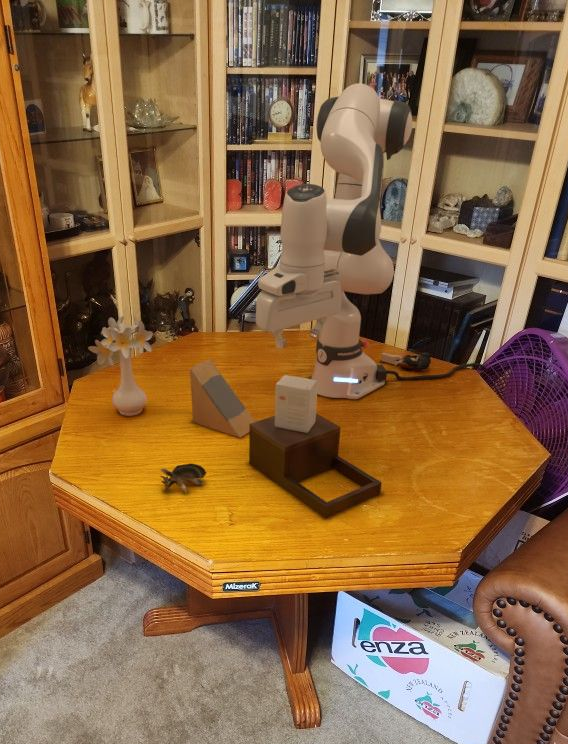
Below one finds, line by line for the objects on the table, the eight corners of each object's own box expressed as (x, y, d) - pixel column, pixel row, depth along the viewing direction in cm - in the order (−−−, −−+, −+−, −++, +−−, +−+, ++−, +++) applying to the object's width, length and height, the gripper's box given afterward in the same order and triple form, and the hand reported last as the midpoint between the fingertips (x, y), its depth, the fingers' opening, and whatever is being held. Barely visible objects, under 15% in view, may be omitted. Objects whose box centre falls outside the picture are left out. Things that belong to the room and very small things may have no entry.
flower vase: (92, 424, 172) (79, 330, 158) (123, 394, 186) (114, 306, 172) (138, 431, 169) (129, 336, 155) (166, 401, 183) (160, 311, 169)
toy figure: (377, 368, 204) (427, 374, 198) (379, 347, 201) (430, 353, 196) (383, 362, 210) (431, 368, 204) (385, 342, 207) (434, 348, 201)
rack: (301, 444, 164) (303, 405, 158) (380, 493, 145) (386, 452, 140) (248, 463, 156) (249, 424, 150) (325, 518, 138) (329, 475, 132)
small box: (315, 423, 150) (318, 380, 144) (307, 433, 146) (310, 390, 140) (282, 416, 153) (284, 374, 147) (273, 427, 149) (275, 383, 143)
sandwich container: (240, 438, 166) (240, 382, 158) (191, 422, 173) (189, 368, 165) (259, 425, 172) (259, 370, 163) (211, 410, 179) (209, 357, 170)
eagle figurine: (175, 500, 141) (211, 482, 144) (160, 469, 140) (198, 452, 143) (167, 500, 148) (202, 483, 151) (153, 471, 147) (189, 454, 150)
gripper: (330, 263, 138) (325, 328, 146) (251, 281, 129) (251, 349, 136) (351, 270, 134) (345, 336, 142) (271, 289, 124) (269, 358, 132)
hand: (298, 342), depth 139 cm, fingers open, 8 cm apart
